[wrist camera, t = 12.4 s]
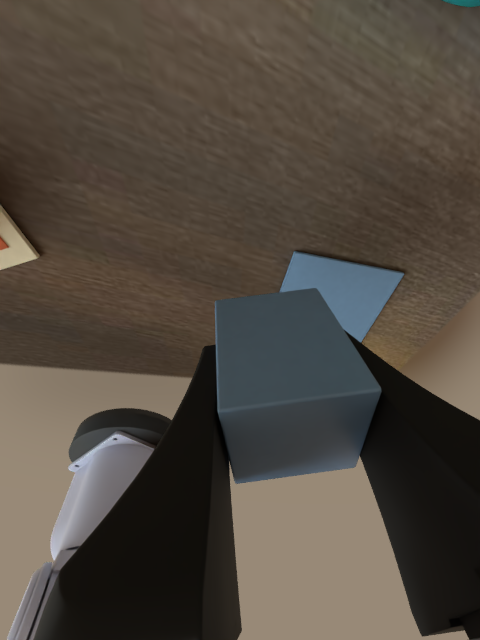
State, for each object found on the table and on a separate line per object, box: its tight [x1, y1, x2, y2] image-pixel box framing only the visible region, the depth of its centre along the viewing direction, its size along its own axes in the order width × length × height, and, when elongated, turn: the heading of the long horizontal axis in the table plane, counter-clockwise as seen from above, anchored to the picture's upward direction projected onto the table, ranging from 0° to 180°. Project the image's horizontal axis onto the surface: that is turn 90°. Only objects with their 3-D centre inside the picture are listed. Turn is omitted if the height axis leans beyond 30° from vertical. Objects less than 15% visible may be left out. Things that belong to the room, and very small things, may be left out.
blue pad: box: [280, 251, 404, 343], centre depth 20 cm, size 8×8×1 cm
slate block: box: [215, 288, 382, 484], centre depth 10 cm, size 4×4×5 cm
